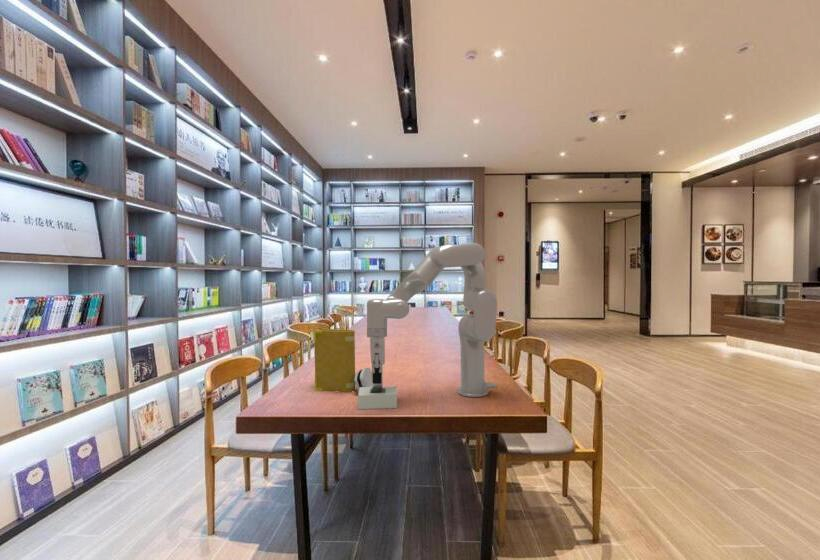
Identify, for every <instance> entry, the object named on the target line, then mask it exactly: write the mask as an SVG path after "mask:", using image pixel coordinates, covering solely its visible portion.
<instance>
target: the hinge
mask: <svg viewBox="0 0 820 560" xmlns="http://www.w3.org/2000/svg"><path fill="white" fill-rule="evenodd" d="M354 380H355V388H356V390H357V393H358V394H359V389H360V387H372V368H369V367H364V368H363V369H360V370H358V371H357V372H355V379H354Z"/></svg>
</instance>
